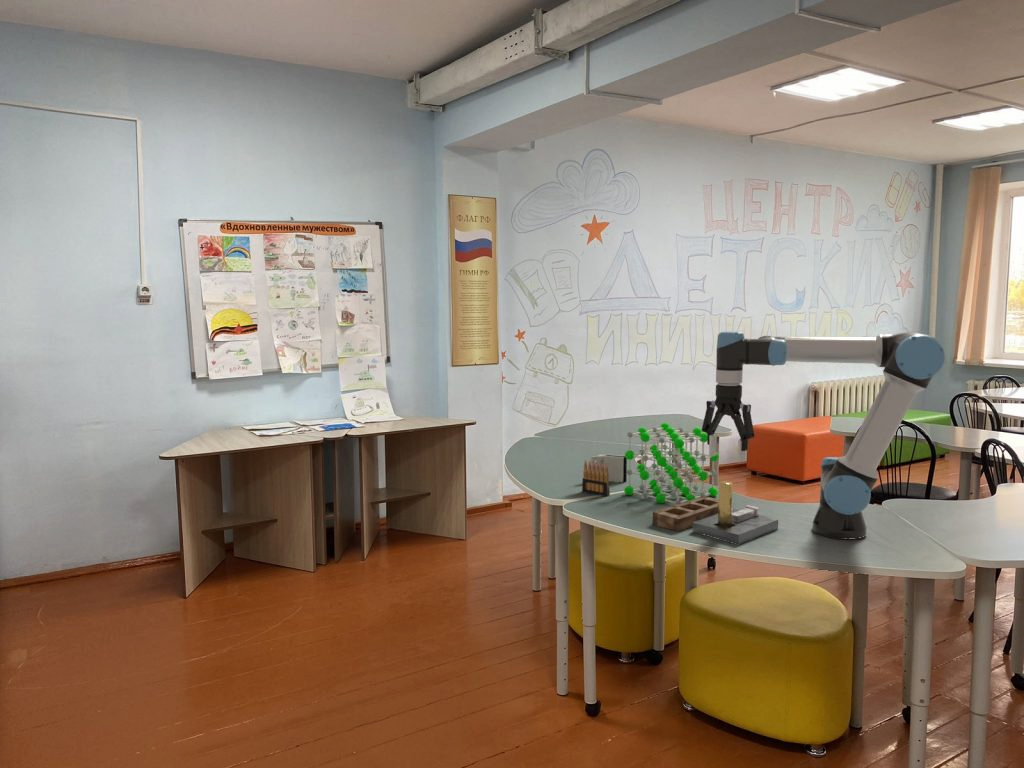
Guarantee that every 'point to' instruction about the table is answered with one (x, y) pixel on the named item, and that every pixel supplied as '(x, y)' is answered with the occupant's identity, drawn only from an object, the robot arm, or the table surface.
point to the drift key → (745, 513)
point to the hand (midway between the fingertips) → (726, 458)
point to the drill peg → (725, 504)
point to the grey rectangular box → (612, 466)
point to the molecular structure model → (671, 464)
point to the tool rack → (685, 513)
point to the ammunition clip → (595, 479)
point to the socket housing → (736, 528)
